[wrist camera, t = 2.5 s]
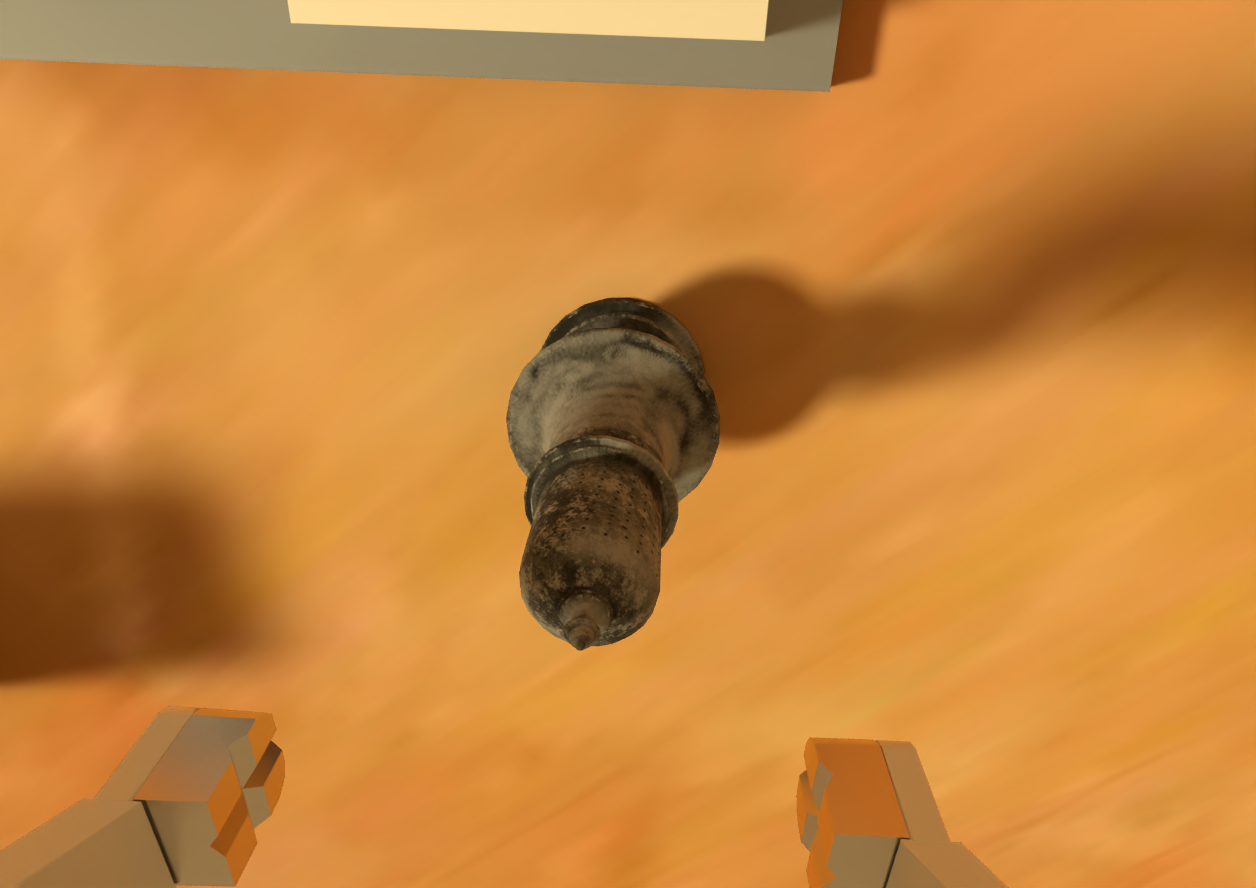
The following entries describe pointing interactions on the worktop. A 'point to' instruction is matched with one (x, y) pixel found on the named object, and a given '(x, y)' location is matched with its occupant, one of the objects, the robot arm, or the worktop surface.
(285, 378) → the worktop surface
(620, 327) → the salt shaker
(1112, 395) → the worktop surface
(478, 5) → the holder board
